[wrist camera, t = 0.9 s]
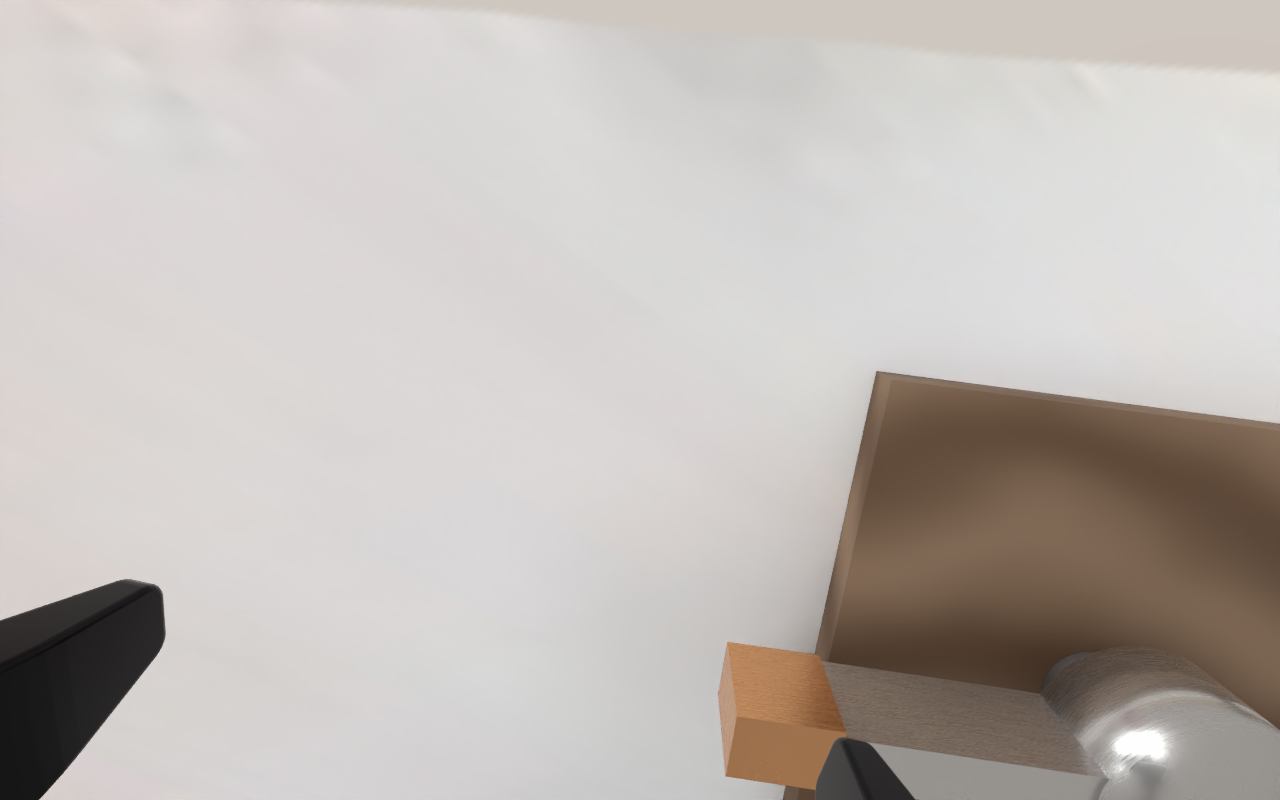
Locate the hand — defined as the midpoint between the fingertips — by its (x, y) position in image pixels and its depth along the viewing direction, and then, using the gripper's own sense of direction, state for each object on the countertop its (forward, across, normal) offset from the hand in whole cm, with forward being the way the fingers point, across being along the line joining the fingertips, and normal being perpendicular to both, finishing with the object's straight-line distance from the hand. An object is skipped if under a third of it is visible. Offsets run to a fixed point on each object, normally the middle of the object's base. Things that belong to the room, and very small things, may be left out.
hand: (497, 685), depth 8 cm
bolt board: (+13, -19, +7) cm, 24 cm away
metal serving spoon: (+10, -14, +7) cm, 18 cm away
